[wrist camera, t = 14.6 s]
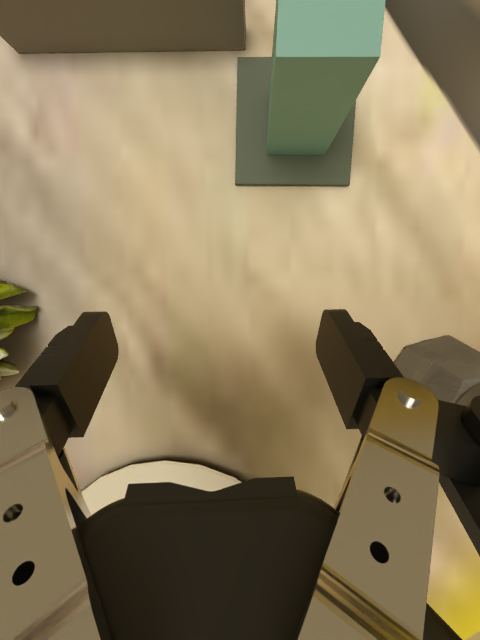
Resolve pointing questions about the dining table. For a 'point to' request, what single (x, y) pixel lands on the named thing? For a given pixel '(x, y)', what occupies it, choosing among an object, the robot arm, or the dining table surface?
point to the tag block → (319, 69)
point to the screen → (122, 25)
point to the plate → (153, 480)
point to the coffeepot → (443, 368)
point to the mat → (253, 139)
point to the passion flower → (12, 322)
